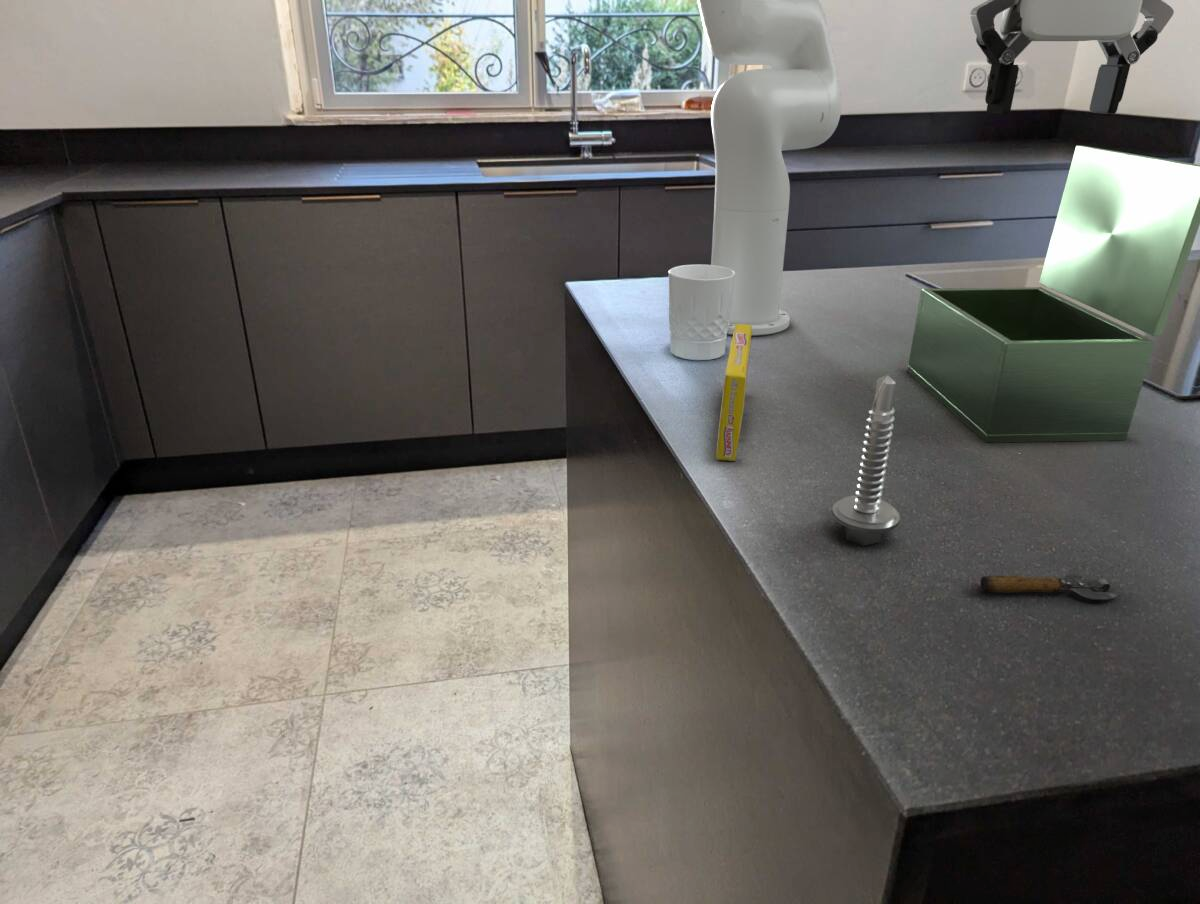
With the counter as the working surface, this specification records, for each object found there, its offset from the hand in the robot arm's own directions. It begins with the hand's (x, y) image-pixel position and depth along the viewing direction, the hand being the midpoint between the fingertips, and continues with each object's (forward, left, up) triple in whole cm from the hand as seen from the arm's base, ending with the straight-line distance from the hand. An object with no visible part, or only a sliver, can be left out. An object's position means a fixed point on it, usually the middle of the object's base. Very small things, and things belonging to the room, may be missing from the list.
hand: (1049, 113), depth 74 cm
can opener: (-12, -34, -28) cm, 46 cm away
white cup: (-28, +18, -28) cm, 44 cm away
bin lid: (+9, 0, -11) cm, 14 cm away
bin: (+2, 0, -28) cm, 28 cm away
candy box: (-28, -5, -28) cm, 40 cm away
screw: (-22, -26, -28) cm, 44 cm away
